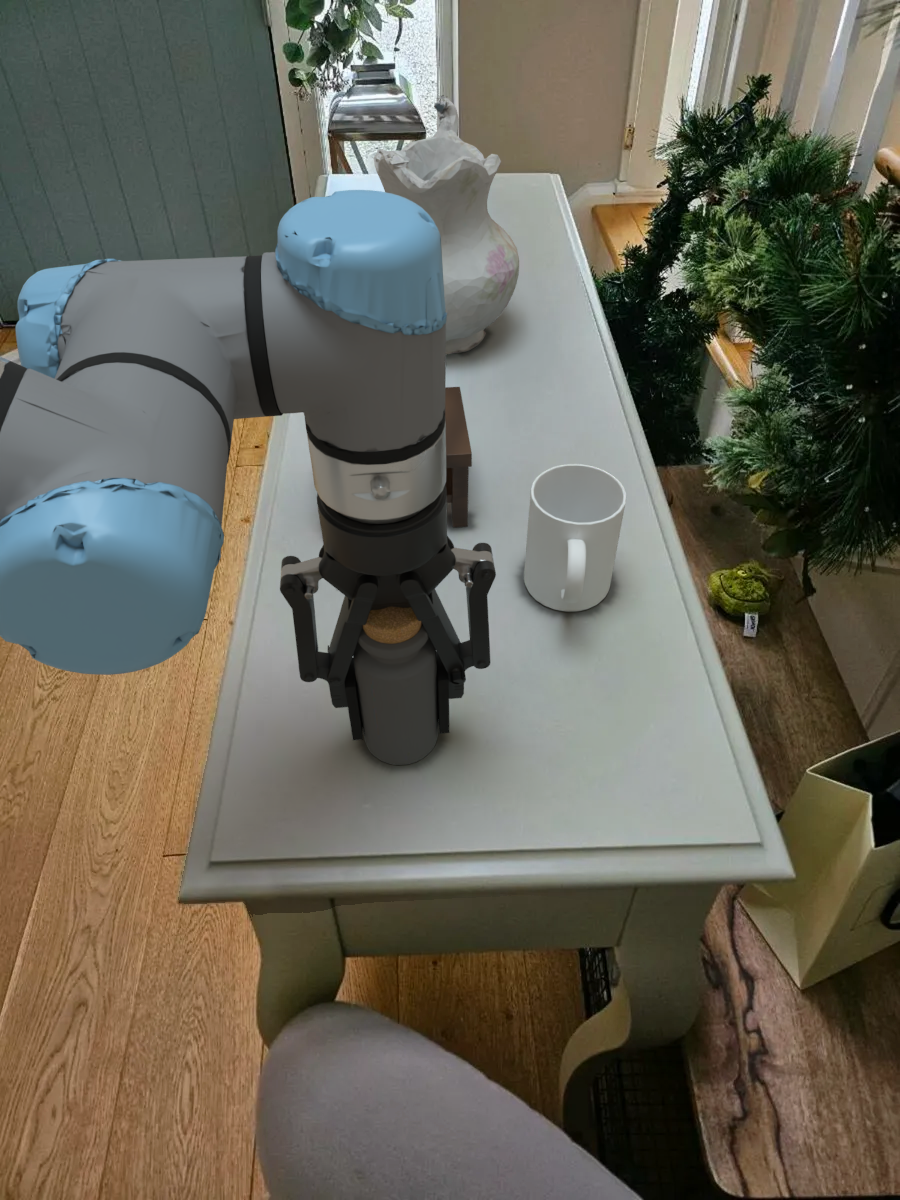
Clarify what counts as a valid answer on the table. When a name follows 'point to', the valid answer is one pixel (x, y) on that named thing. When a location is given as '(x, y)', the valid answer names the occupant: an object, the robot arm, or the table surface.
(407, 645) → the bottle
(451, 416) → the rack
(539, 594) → the mug
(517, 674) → the table surface
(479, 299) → the ceramic pitcher
